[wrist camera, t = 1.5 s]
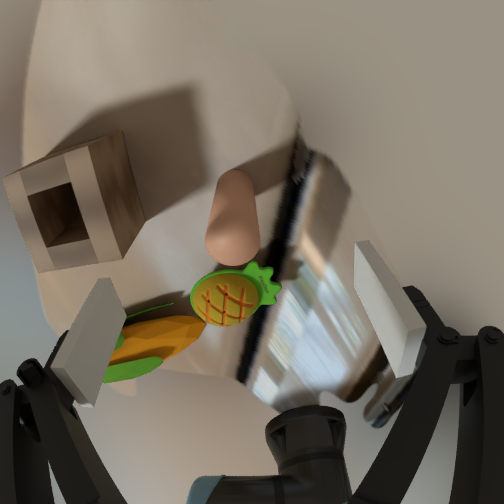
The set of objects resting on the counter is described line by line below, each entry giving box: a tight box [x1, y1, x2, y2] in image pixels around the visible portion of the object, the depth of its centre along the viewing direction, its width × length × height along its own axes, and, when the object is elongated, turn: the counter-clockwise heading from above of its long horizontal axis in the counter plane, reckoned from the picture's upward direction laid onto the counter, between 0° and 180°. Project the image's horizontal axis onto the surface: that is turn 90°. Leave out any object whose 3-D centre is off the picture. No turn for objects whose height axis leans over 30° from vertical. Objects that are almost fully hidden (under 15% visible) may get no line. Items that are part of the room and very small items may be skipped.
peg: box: [205, 170, 260, 266], centre depth 26 cm, size 4×4×12 cm
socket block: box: [3, 131, 146, 273], centre depth 27 cm, size 10×10×8 cm
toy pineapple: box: [190, 261, 282, 326], centre depth 35 cm, size 7×10×5 cm
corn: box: [102, 303, 207, 383], centre depth 37 cm, size 7×8×20 cm
